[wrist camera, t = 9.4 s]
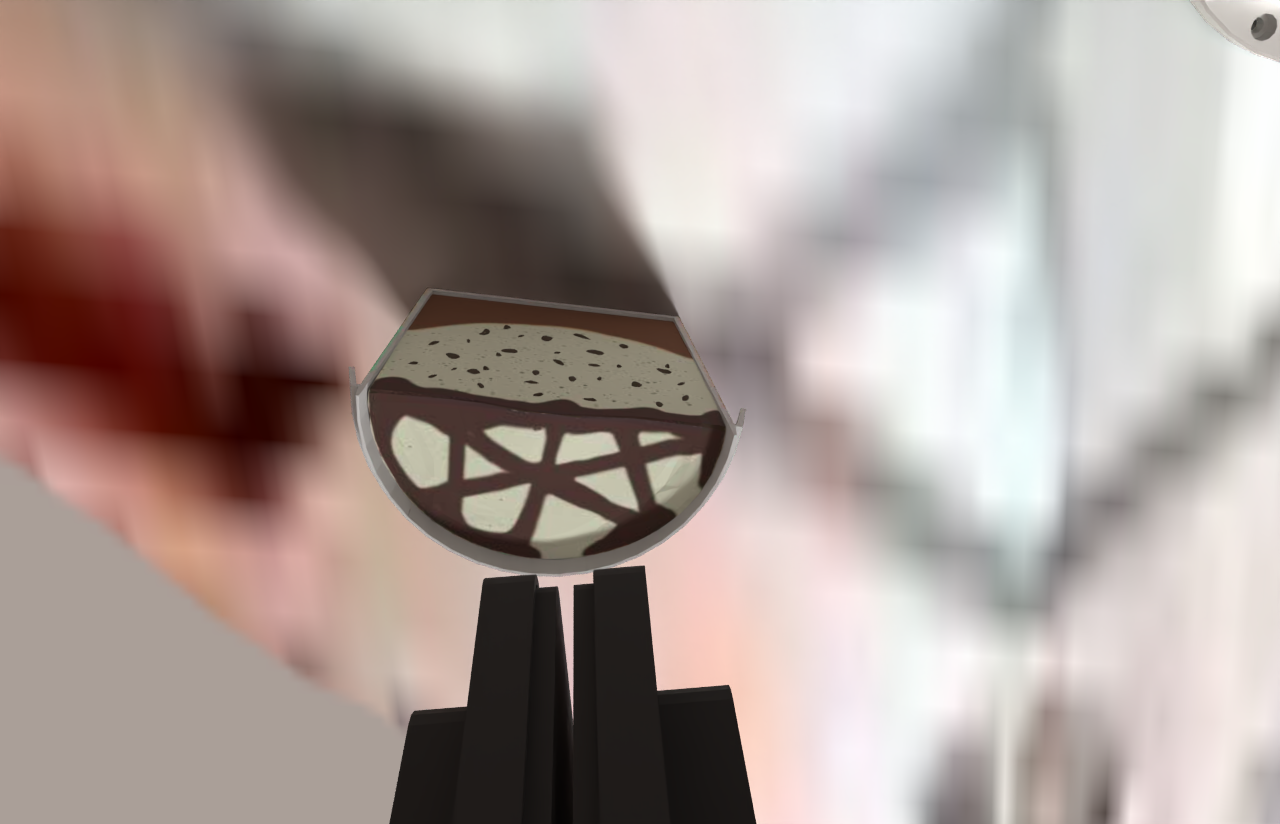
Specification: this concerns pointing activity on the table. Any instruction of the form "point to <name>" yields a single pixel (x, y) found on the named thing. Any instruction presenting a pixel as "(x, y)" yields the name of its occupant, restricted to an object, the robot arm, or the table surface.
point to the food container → (542, 430)
